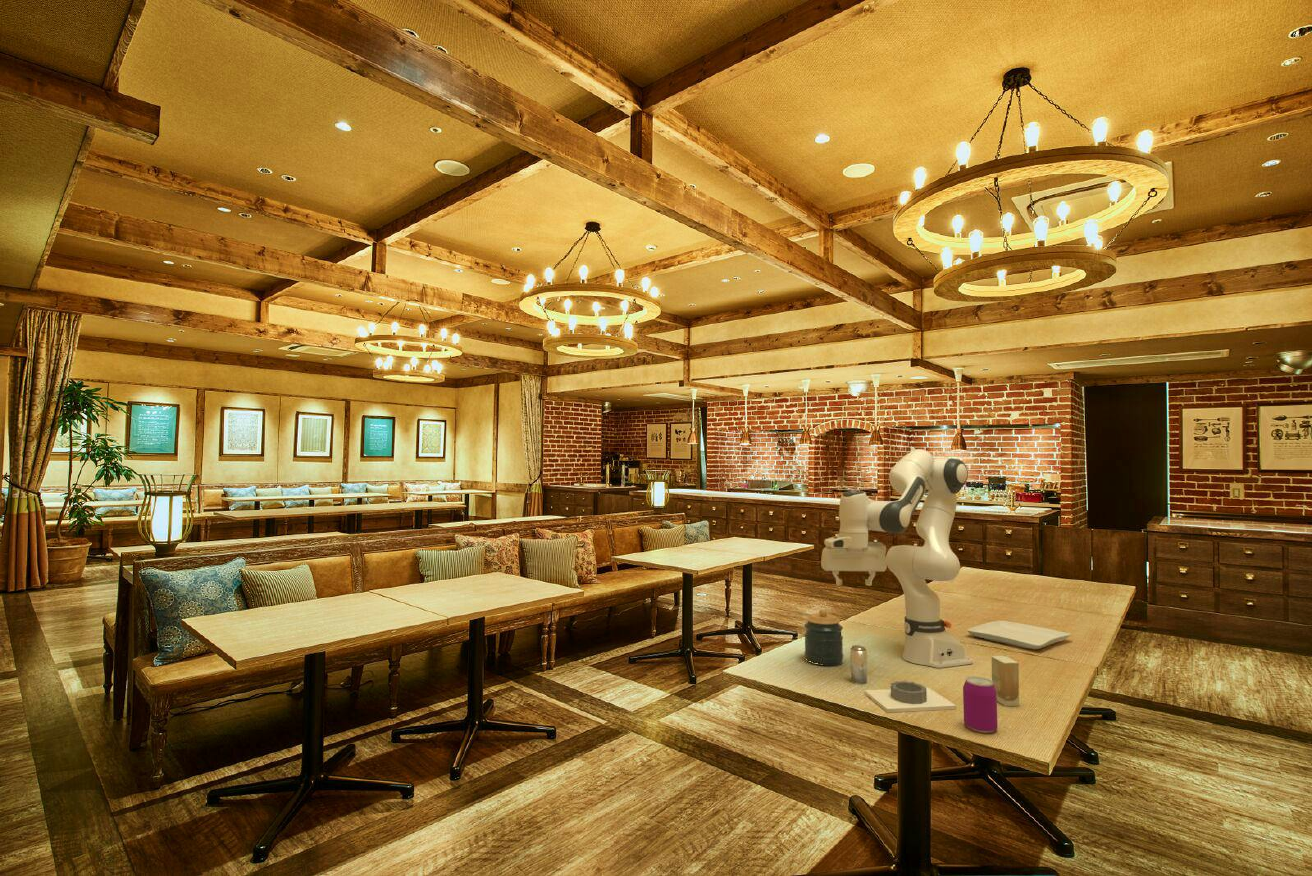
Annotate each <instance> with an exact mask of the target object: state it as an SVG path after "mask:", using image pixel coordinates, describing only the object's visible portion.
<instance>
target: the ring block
mask: <svg viewBox="0 0 1312 876" xmlns="http://www.w3.org/2000/svg"><path fill="white" fill-rule="evenodd" d="M863 693H865V694H866V695H865V694H864V695H865V696H866V697H868V698H869V697H870V698H871V699H872V702H874V703H875V704H876V705H877V706H879V707H880V708H882V710H884V711H885V712H886V713H889V714H891V713H906V712H928V711H947V710H948V711H949V710H957V705H956V704H955V703H953V702H951V701H950V700H948V699H946V698H945V697H944V696H942V695H941V694H939V693H938V692H936V691H934V690H933V689H931V688H930V687H929V686H928V687H925V685H924V686H923V685H922V684H919V683H917V682H913V681H905V680H900V681H893V682H891V683H890V688H887V689H886V688H883V689H864V692H863ZM870 698H869V699H870ZM871 699H870V700H871Z"/></svg>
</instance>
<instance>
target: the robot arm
mask: <svg viewBox="0 0 1312 876" xmlns="http://www.w3.org/2000/svg"><path fill="white" fill-rule="evenodd" d="M968 478H969V471H968V467H967V465H966V463H964V461H963V460H960V459H958V458H953V457H952V458H942V457H941V458H939V457H938V458H937V457H935V458H934V457H933V455H932V454H931V453H930V452H929V451H927V450H925V449H922V448H921V449H920V448H919V449H914V450H912V451H910V452H908V453H907V454H905V455H904V456H902V458H900V459H899V460H898V461H897V462H896V463H895V465H893V467H892V468H891V469H890V471H889V475H888V480H889V483H890V486H891V487H892V488H893V490H894V491H896V492H897V493H898V494H899V495H901V496H900V498H899V499H898V500H897V499H896V500H894V501H878V500H873V499H871V498H869V497H868V496H867V493H866V491H864V490H857V489H855V490H848V491H844V492H843V493H842V494H841V496H840V500H839V507H838V508H839V509H838V510H839V511H838V517H839V522H840V523H839V525H840V526H839V533H838V535H835V536H832V537H828V538H825V539H824V541H823V542H824V545H825V547H824V548H823V549H822V552H821V559H820V561H821V562H820V565H821V569H823V570H824V571H826V572H832V573H831V574H832V575H833V577H834V578H835V585H836V586H843V579H842V578H839V576H838V575H839V574H840V572H868V574H869V576H868V579H867V578H866V579H864V580H865V581H864V582H865V583H864V584H865V586H867V587H868V586H869V587H871V586H872V584H873V580H874V578H875V576H876V572H885V571H886V570H887V568H888V569H889V571H890V572H892V573H893V574H894V576H895V577H896V578H897V579H898V582H899V584H900V585H901V588H902V591H903V596H904V604H905V607H904V608H905V616H904V633H905V634H904V635H905V637H904V638H905V639H904V646H903V650H902V652H901V653H902V654H901V658H902V660H904V661H907V662H909V663H912V664H915V665H916V664H917V665H921V666H927V667H931V668H937V669H941V668H943V669H944V668H950V667H958V666H965V665H971V664H973V660H972V658H971V657H969V656H968V655H966V654H965V648H964V645H963V643H962V642H961V641H959V639H957V637H955V636H953V634H951V633H950V632H948V631H947V630H946V628H947V629H951V627H952V623H951V622H950V621H946V620H945V621H944V620H943V619H941V607H940V606H941V605H940V604H941V603H940V602H941V601H940V597H939V596H938V594H937V592H935V591H934V590H933V589H931V587H929V585H928V584H927V581H926V580H928V581H929V580H930V581H934V582H948V581H953V580H955V579H956V578H957V577H958V576H959V573H960V570H961V563H960V561H959V558H958V556H957V555H956V553H954V552H953V550H952V548H951V546H950V541H949V540H950V533H951V528H952V526H953V522H954V519H955V514H956V510H957V505H958V496H957V494H958V493H960V491H961V489H962V488H963V487H964V486H965V485H966V483H967V481H968ZM926 489H927V490H928V494H927V495H926V497H925V500H924V502H923V503H922V507H921V508H920V509H921V510H920V512H919V516H918V518H917V521H916V524H915V531H916V533H917V535H918V536H919V537H920V538H921V539H923V540H924V542H923V543H924V544H923V546H919V545H918V546H917V545H910V544H909V545H908V544H903V545H902V544H901V545H893V546H891V547H890V548H889V549H888V550H887V546H886V545H885V543H883V542H881V541H869V531H874V532H875V531H876V532H885V533H889V534H894V535H895V534H896V535H900V534H902V533H903V532H905V531H906V530H907V529H908V528H909V526H910V524H911V519H912V516H913V515H914V513H915V511H916V509H917V507H918V506H919V504H920V502H921V501H922V499H923V496H924V495H925V492H926Z"/></svg>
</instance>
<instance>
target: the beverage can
mask: <svg viewBox="0 0 1312 876" xmlns="http://www.w3.org/2000/svg"><path fill="white" fill-rule="evenodd" d="M962 703H963V706H962V707H963V722H964V725H965V726H966V727H967V728H968V729H970V730H972V731H973V732H976V733H980V734H991V733H995V731H997V729H998V701H997V691H996V689H995V687H994V684H993V682H992V679H989V678H986V677H981V676H976V675H975V676H967V677H966V678H965V681H964V683H963V686H962Z"/></svg>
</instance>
